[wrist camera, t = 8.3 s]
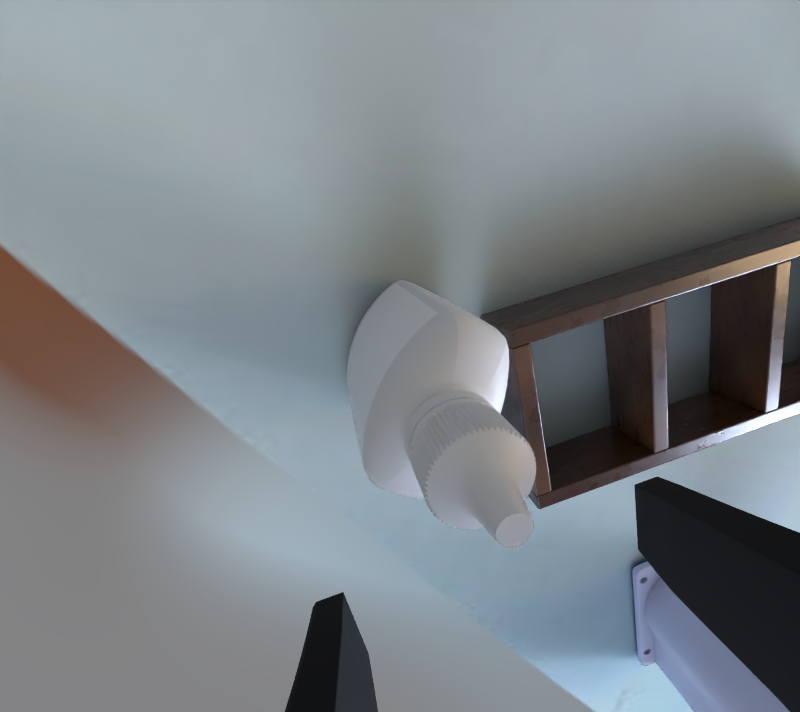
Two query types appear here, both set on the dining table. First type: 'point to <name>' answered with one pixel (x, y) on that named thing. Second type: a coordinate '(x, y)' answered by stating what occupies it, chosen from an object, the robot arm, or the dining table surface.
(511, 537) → the eye dropper bottle
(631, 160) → the dining table surface
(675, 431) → the spice rack
